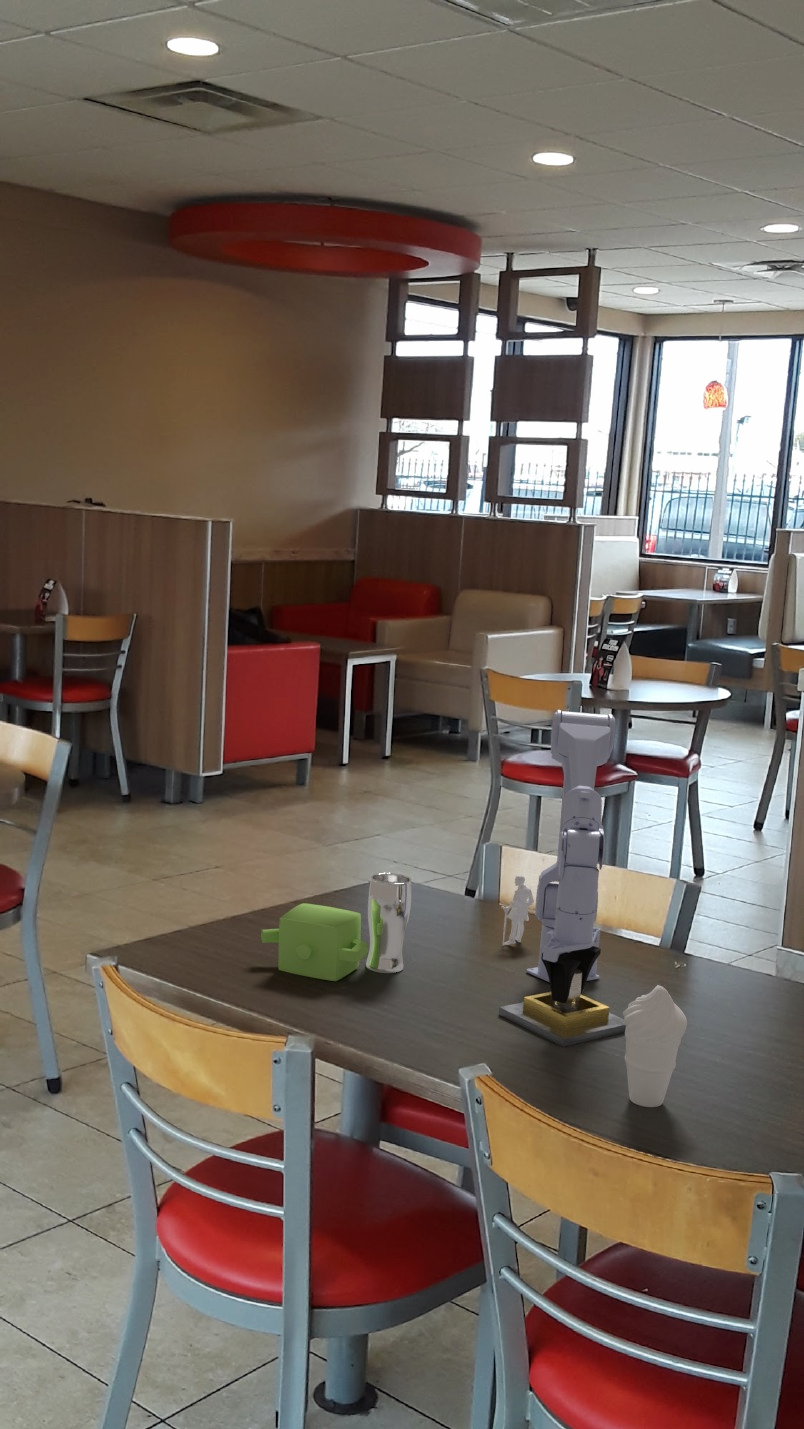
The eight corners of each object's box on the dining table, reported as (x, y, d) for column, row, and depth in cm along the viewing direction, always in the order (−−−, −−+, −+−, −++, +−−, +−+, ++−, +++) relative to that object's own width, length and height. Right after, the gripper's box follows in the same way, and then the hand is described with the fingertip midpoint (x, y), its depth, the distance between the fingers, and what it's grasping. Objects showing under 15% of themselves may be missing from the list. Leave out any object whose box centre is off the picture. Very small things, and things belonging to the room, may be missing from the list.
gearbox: (247, 970, 227) (248, 913, 225) (276, 951, 236) (277, 896, 234) (349, 990, 220) (350, 932, 218) (375, 970, 229) (377, 914, 227)
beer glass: (401, 976, 228) (408, 886, 226) (358, 971, 229) (365, 880, 227) (409, 963, 235) (416, 875, 232) (368, 958, 236) (374, 870, 234)
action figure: (518, 937, 254) (524, 872, 252) (533, 943, 251) (539, 877, 249) (493, 943, 249) (499, 876, 248) (508, 948, 247) (514, 881, 245)
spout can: (558, 1002, 216) (561, 954, 215) (584, 1009, 213) (587, 960, 212) (544, 1010, 212) (547, 960, 211) (571, 1016, 210) (574, 967, 209)
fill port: (566, 1000, 223) (568, 981, 222) (631, 1030, 212) (633, 1010, 211) (498, 1014, 214) (500, 994, 214) (562, 1046, 203) (564, 1025, 203)
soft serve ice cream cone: (607, 1086, 190) (619, 971, 188) (668, 1088, 191) (681, 974, 189) (622, 1113, 182) (635, 993, 180) (686, 1115, 183) (699, 996, 180)
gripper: (574, 894, 218) (565, 979, 220) (528, 912, 206) (519, 1002, 208) (615, 904, 215) (607, 990, 217) (571, 923, 203) (562, 1014, 205)
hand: (567, 997), depth 212 cm, fingers closed on spout can, 4 cm apart
